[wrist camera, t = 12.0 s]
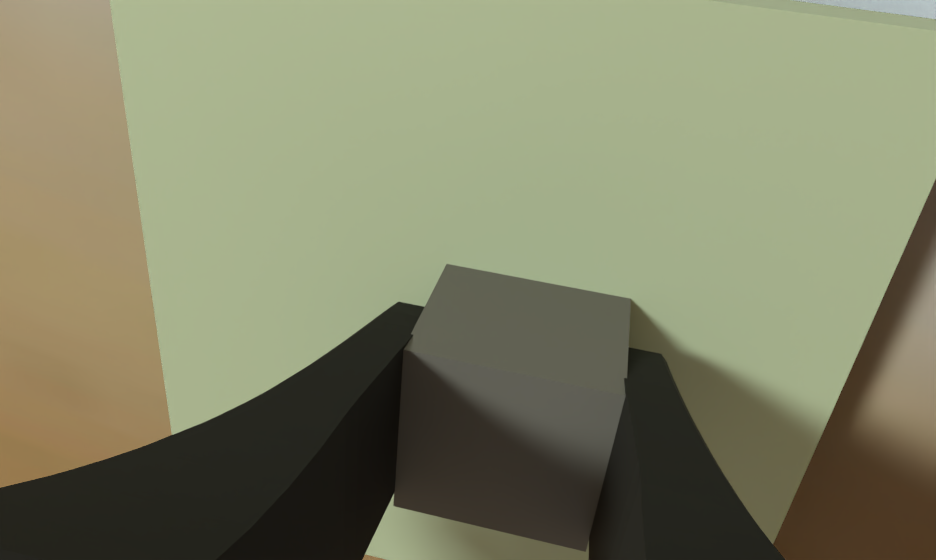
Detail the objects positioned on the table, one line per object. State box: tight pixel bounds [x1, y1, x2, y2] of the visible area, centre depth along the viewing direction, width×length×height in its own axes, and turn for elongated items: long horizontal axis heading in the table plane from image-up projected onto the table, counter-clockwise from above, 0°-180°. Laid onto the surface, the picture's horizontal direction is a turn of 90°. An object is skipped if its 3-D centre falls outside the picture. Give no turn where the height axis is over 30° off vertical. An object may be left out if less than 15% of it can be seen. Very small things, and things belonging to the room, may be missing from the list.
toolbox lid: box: [110, 0, 936, 560], centre depth 12 cm, size 12×12×4 cm
